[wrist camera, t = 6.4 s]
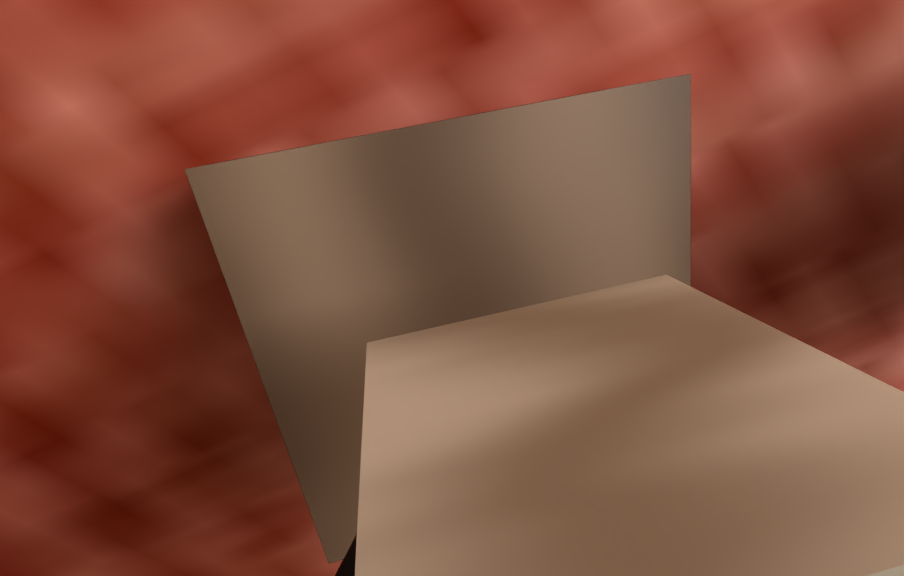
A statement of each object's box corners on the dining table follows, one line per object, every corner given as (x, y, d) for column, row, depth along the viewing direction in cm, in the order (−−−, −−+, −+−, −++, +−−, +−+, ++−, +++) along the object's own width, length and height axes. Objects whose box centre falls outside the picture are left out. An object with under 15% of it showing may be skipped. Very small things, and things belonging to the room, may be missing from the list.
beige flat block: (607, 89, 14) (690, 73, 10) (624, 396, 18) (690, 466, 14) (239, 158, 13) (184, 169, 9) (339, 467, 17) (329, 563, 13)
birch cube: (666, 274, 8) (1121, 500, 3) (671, 507, 9) (965, 882, 5) (367, 342, 7) (346, 729, 3) (428, 572, 9) (483, 1056, 4)
